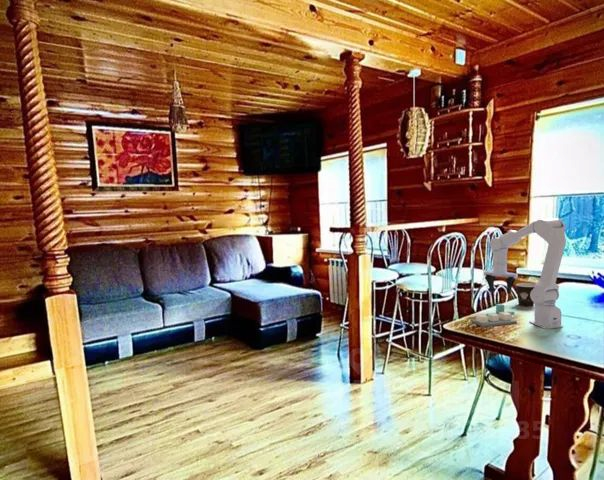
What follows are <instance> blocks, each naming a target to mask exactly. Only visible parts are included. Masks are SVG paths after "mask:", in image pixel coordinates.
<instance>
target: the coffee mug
mask: <svg viewBox="0 0 604 480" xmlns="http://www.w3.org/2000/svg"><path fill="white" fill-rule="evenodd" d="M535 284H536V283H535ZM535 284H534V283H528V282H521V283H516V284H515V287H516V294H517V301H518V306H520V307H524V308H525V307H527V308H531V307H532V308H533V307H535V304H534V302H533V301H532V300H531V297H530V293H531V291H532V290H533V289H534V286H535Z"/></svg>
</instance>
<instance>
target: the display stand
mask: <svg viewBox="0 0 604 480" xmlns="http://www.w3.org/2000/svg"><path fill="white" fill-rule="evenodd" d="M491 313H492V314H488V313H487V314H488V316H486V314H483V313H481V314H480V313H479V314H476V315H475V318H471V319H470V321H471V323H473V324H475V325H477V326H479V327H482V328H487V327H494V326H503V325H513V324H512V323H514V324H517V323H518V320H515V319H513V318H512V315H511V314H510V313H507V311H504V312H499V315H498V314H495V313H496V312H491Z"/></svg>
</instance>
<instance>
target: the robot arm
mask: <svg viewBox="0 0 604 480" xmlns="http://www.w3.org/2000/svg"><path fill="white" fill-rule="evenodd" d="M565 229H566V224H565V223H564V221H562V220H561V219H560V218H559V217H558V218H557V217H554V218H546V219H542V218H541V219H537V220H535V221H532V222H531V223H530V224H527V225H526V226H524V227H522V228H519V229H518V230H514V229H509V230H507V232H506V233H504V234H500V235H499V237H493V238H492V239H490V241H489V246H490V248H491V250H492V270H491V271H490V270H484V271H483V276H484V279H485V281H486V282H487V284H488V287H489V291H490V292H494V290H495V284H494V283H495V277H500V278H505V282H506V294H511V293H512V288H513V285H514V284H515V281H516V280H517V279H518V277H519V275H518V273H515V272H509V271H508V252H509V251H508V250H509V248H510V247H512V245H515V244H518V243H520V241H522V238H524V237H526V236H529V235H531V234H536V235H537V236H539V237H540V238H542V239H543V240H544V241H545V242H546V243H547V244H548V245H547V249H546V255H545V257H544V262H543V266H542V269H541V274H540V277H539V280H538V281H537V282H536V283H535V286H534V289H533V290H532V291H531V293H530V297H531V300H532V301H533V302H534V320H530V321H529V323H530V324H533V325H536V326H538V327H540V328H542V329H543V328H544V329H546V330H547V329H556V328H563V327H564V325H562V311H561V308H559V307H558V306H556V302H557V301H558V299H559V298H560V293H559V287H560V286H559V285H558V284H557V283H556V282H557V278H558V274H559V271H560V270H559V269H560V267H561V263H562V259H563V255H564V251H565V247H566V243H567V240H566V235H565Z"/></svg>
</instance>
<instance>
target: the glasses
mask: <svg viewBox="0 0 604 480" xmlns="http://www.w3.org/2000/svg"><path fill="white" fill-rule="evenodd" d="M499 312H505V304H503V303H496V304H495V312H494V313H495V314H498V315H499ZM506 312H507V313H510V314H511V316H514V315H515V311H513V310H509V311H507V310H506ZM492 313H493V312H489V313H485V316H488V314H492Z"/></svg>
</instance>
